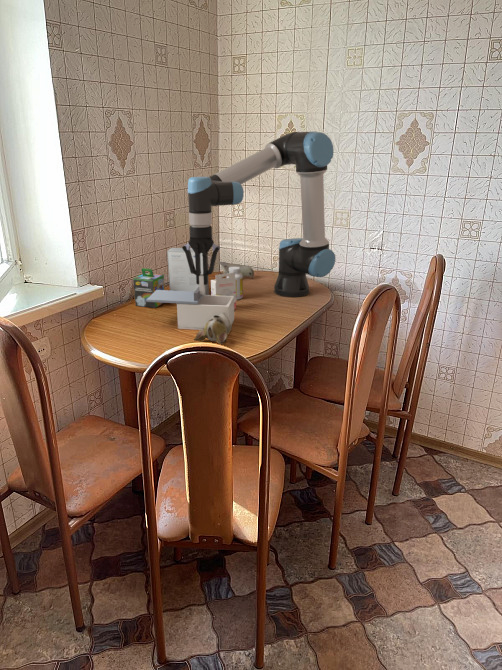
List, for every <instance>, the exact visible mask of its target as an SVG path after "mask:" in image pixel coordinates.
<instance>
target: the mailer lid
mask: <svg viewBox="0 0 502 670" xmlns="http://www.w3.org/2000/svg"><path fill="white" fill-rule="evenodd" d="M204 295H205V294H200V290H199V287H198V288H197V290H196V291H195V292H194V291H171V290H170V289H169V290H168V289H165V290H156V291H155V292H154V293H153V294H152V295H151V296H150V297H149V298H147V299H146V302H161V303H162V304H165V303H167V304H168V303H169V304H177V303H182V304H198V303H199V301H200V300H201V299H202V297H203V296H204Z"/></svg>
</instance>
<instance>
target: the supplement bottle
mask: <svg viewBox="0 0 502 670" xmlns="http://www.w3.org/2000/svg"><path fill="white" fill-rule="evenodd" d="M229 273H235V281H236V301H237V300H241V299H243V296H244V295H243V294H244V293H243V291H244V288H243V286H244V285H243V284H244V282H243V281H244V280H243V279H244V277H243V276H242V274H241V273H240V267H229ZM226 278H229V277H228V276H226Z"/></svg>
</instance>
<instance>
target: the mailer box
mask: <svg viewBox="0 0 502 670" xmlns="http://www.w3.org/2000/svg"><path fill="white" fill-rule="evenodd" d="M176 311H177V313H176V314H177V329H179V330H181V329H182V330H194V331H195V330H196V331H197V330H198V331H200V330H202V329H204V327H205V325H206V323H207V322H208V321H209V320H211V318H212V317H213V316H215V315H217V316H218V315H220V314H222V313H223V312H224V313H225V315H226V316H227V317H228V319H229V321H230V323H231V326H232V325H233V323H234V322H235V309H234V296H218V295H211V294H209V295H204V296H203V297H202V299H201V300H200V301H199V303H198V304H182V303H176Z"/></svg>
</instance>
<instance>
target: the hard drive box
mask: <svg viewBox="0 0 502 670" xmlns="http://www.w3.org/2000/svg"><path fill="white" fill-rule="evenodd" d="M190 251H191V255H192V259H193V262H194V266H195V270H196V263H195V252H194V251H193V249H192V248H191V247H190ZM166 256H167V269H168V270H167V272H168V286H169V287H168V288H169V290H171V291H194V292H195V291H196V290H197V288H198V287H199V284H197V283H196V275H195V274H192V273H191V272H190V268H189V264H188V261H187V257H186V253H185V252H184V250H183V249H182V247H171V248H170V249H168V250H167V251H166ZM200 263H201V273H200V275H201V274H203V256H202V253H201V254H200ZM209 283H210V282H209V280H208V284H207V285H205V295H210V284H209Z"/></svg>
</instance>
